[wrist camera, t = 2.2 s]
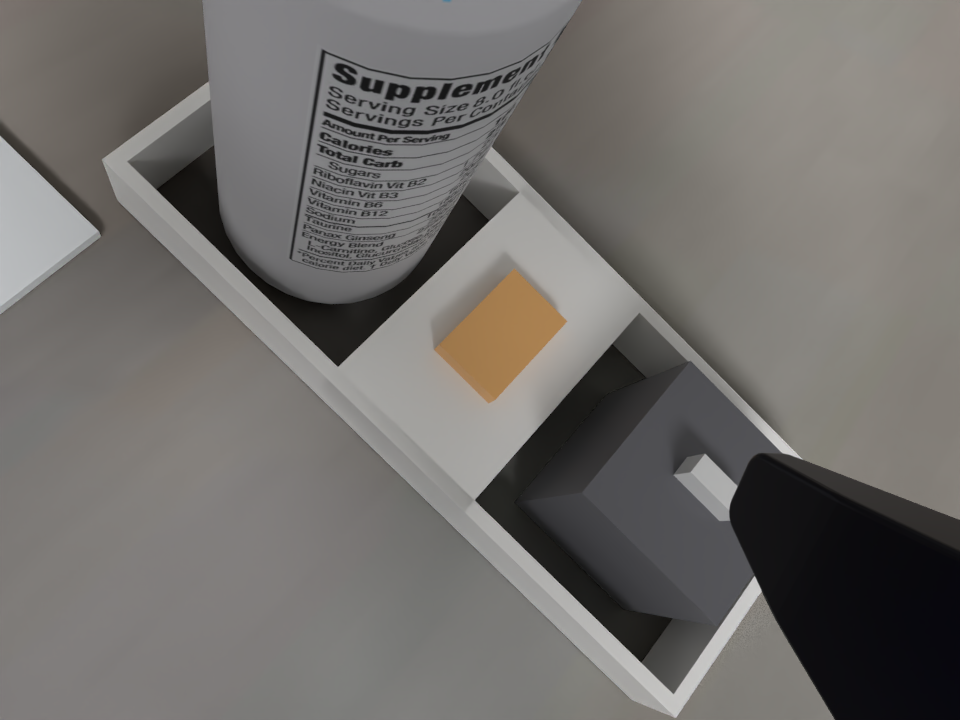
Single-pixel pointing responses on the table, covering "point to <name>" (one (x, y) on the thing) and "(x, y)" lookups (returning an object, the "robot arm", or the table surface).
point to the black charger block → (654, 496)
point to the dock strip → (465, 371)
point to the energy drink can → (359, 126)
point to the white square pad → (34, 228)
